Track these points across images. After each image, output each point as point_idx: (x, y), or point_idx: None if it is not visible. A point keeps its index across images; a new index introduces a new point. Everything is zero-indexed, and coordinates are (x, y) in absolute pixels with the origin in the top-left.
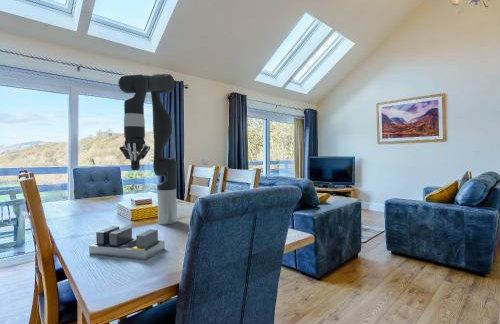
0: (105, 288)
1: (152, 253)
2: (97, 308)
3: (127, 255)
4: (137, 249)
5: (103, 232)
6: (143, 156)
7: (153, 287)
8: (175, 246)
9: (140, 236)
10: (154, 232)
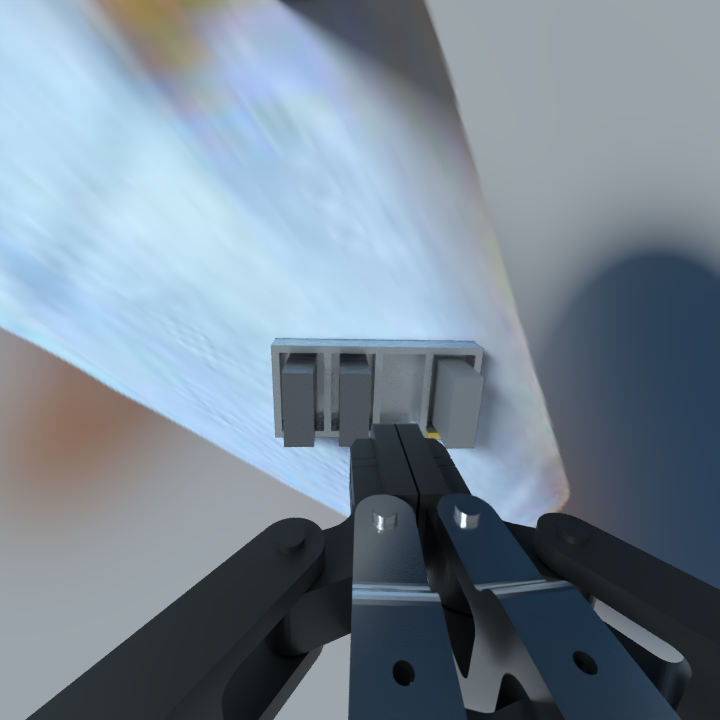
0: None
1: None
2: None
3: None
4: None
5: (313, 445)
6: (611, 569)
7: (536, 517)
8: (494, 308)
9: (460, 447)
10: (479, 394)
